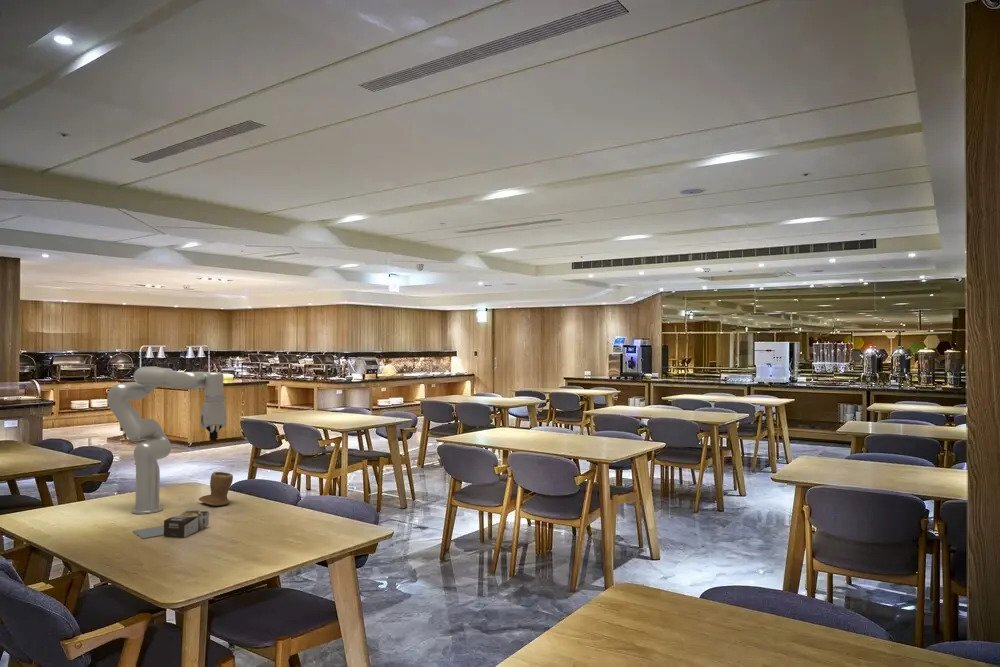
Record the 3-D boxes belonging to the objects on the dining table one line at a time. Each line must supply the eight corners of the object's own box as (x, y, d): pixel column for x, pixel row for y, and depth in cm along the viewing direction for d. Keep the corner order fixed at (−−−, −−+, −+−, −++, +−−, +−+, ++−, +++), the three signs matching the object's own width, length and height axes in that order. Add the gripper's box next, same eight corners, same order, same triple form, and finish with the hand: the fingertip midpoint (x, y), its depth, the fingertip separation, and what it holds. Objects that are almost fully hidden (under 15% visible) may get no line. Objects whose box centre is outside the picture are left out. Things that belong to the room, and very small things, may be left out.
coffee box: (209, 510, 267) (185, 521, 251) (208, 525, 267) (184, 538, 251) (189, 508, 269) (163, 519, 253) (188, 523, 269) (162, 536, 253)
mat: (132, 531, 260) (132, 530, 260) (180, 523, 272) (180, 522, 272) (142, 539, 250) (142, 538, 250) (192, 530, 262) (192, 529, 262)
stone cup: (236, 504, 306) (237, 472, 307) (211, 508, 298) (211, 476, 298) (222, 499, 317) (223, 468, 317) (198, 503, 308) (198, 471, 308)
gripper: (227, 398, 299) (227, 438, 299) (193, 400, 289) (193, 441, 288) (234, 399, 294) (233, 440, 293) (199, 401, 284) (199, 443, 283)
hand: (213, 440), depth 291 cm, fingers closed
